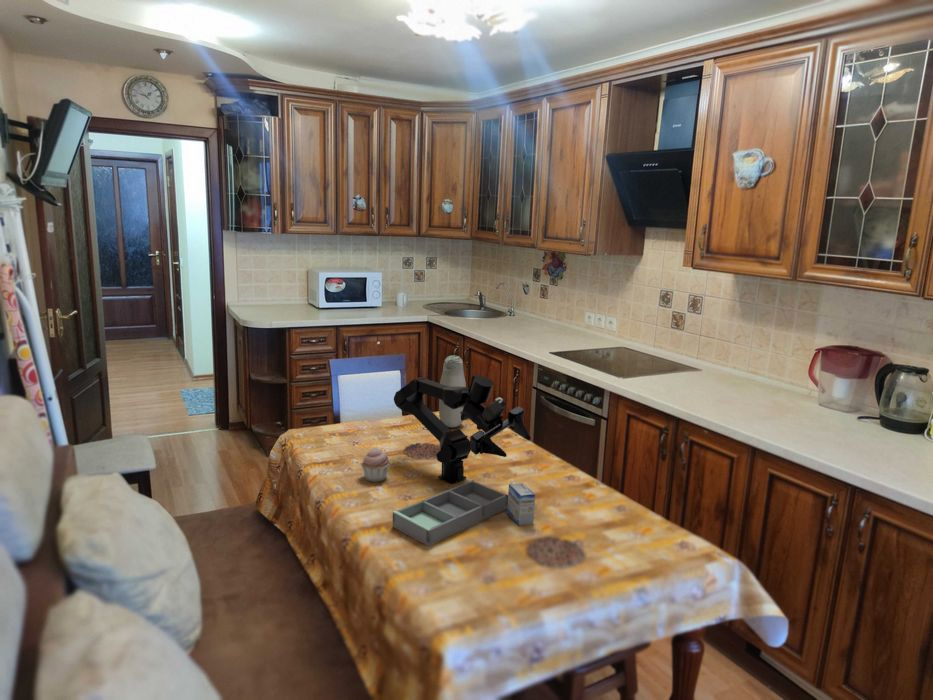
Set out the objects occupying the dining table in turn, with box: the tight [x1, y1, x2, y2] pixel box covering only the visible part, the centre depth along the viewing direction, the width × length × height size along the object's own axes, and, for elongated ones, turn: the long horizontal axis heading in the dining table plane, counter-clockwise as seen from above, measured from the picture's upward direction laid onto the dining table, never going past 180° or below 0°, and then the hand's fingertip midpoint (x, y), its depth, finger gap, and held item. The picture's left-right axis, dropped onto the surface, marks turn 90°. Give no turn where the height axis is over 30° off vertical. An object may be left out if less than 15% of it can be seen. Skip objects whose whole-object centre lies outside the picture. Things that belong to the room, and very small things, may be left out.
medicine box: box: [506, 482, 536, 526], centre depth 169 cm, size 8×4×9 cm, turn 21°
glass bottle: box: [438, 354, 467, 429], centre depth 240 cm, size 10×10×28 cm
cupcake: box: [360, 446, 392, 483], centre depth 192 cm, size 9×9×10 cm
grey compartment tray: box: [392, 480, 508, 547], centre depth 169 cm, size 14×30×4 cm, turn 136°
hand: (518, 447), depth 173 cm, fingers open, 9 cm apart
